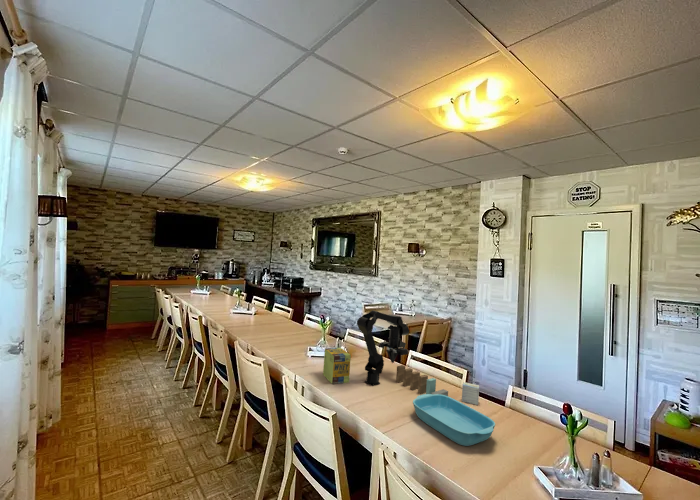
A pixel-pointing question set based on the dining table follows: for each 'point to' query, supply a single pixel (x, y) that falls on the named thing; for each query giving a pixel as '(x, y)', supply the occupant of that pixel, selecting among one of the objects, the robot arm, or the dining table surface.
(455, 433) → the casserole dish
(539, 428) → the dining table surface
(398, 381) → the domino
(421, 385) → the domino
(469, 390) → the medicine box
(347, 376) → the protein box
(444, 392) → the end block
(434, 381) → the light blue flat block
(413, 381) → the domino
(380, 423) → the dining table surface
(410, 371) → the domino
